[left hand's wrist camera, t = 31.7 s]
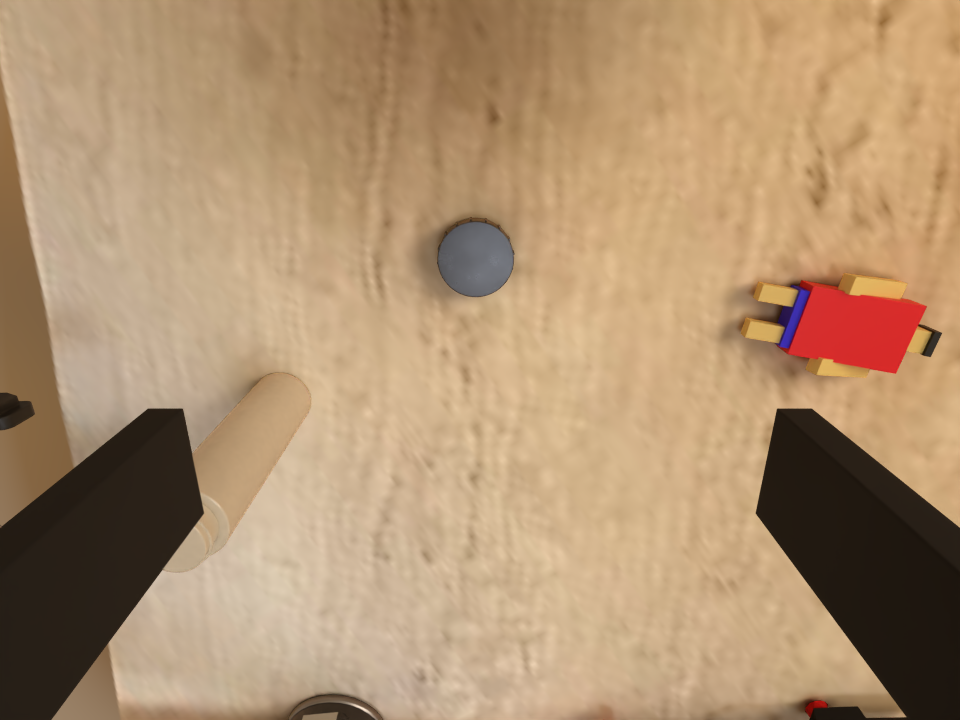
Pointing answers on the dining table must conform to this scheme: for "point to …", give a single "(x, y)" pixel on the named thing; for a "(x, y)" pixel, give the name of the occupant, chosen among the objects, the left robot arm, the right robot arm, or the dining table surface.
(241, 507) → the beige long cylinder
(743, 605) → the dining table surface
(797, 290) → the toy figure
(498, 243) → the lid
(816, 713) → the electric hoist
